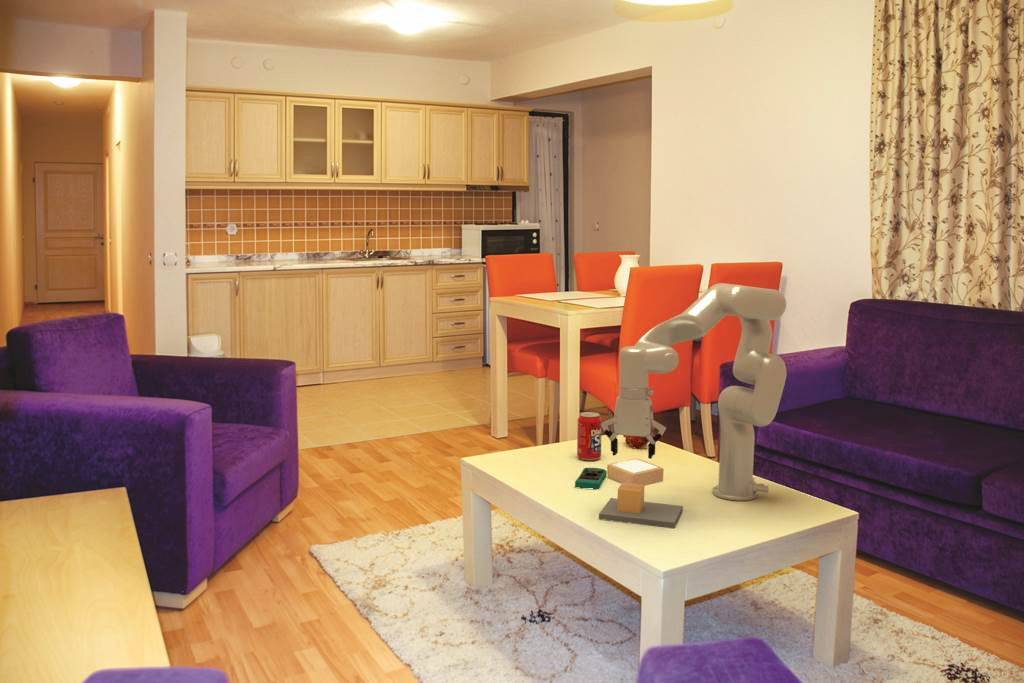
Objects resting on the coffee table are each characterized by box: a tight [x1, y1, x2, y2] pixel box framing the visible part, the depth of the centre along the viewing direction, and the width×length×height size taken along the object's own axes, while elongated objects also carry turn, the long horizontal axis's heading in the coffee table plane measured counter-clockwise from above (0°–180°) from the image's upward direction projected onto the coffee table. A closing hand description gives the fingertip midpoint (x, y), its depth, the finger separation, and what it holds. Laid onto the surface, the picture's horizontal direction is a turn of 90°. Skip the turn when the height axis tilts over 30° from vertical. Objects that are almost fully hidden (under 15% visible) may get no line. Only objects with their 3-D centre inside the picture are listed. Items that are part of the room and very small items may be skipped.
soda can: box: [576, 411, 603, 462], centre depth 297 cm, size 8×8×15 cm
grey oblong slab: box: [598, 497, 684, 529], centre depth 244 cm, size 20×14×2 cm
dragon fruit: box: [622, 435, 650, 450], centre depth 313 cm, size 8×8×12 cm
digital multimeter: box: [574, 467, 608, 490], centre depth 273 cm, size 7×15×3 cm, turn 165°
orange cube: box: [617, 482, 645, 513], centre depth 244 cm, size 6×6×6 cm
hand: (632, 455), depth 243 cm, fingers open, 9 cm apart
